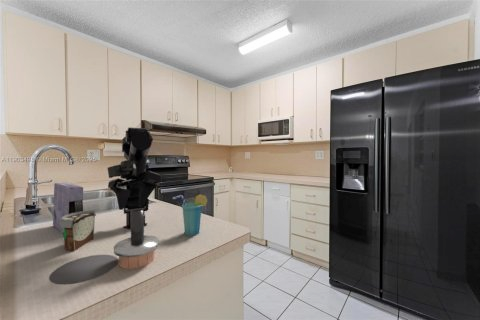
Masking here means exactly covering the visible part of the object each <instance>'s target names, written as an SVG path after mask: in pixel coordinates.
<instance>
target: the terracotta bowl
mask: <svg viewBox="0 0 480 320" xmlns="http://www.w3.org/2000/svg"><path fill="white" fill-rule="evenodd" d="M155 251H156V249H155V250H154V251H152V252H150V253H147V254H144V255H140V256H135V257H120V256H118V265H119V267H121V268H122V269H126V270H132V269H139V268H143V267H145V266H146V267H147V266H148V265H150V264H151V263H153V262H154V260H155V257H156V256H155V254H156V252H155Z"/></svg>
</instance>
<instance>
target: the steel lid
mask: <svg viewBox="0 0 480 320" xmlns="http://www.w3.org/2000/svg"><path fill="white" fill-rule="evenodd" d="M144 215H145V211H144V210H142V209H137V210H132V211H131V229H130V237H127V238H124V239H121V240H120V241H118V242H116V243H115V244H114V246H113V253H114V256H118V257H119V256H120V257H135V256H140V255H144V254H147V253H150V252H152V251H154V250H155V251H156V250H157V249H158V248H159V247H160V239H159V237H157V236H154V235H147V234H146V235H145V226H144Z"/></svg>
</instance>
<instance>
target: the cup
mask: <svg viewBox="0 0 480 320" xmlns="http://www.w3.org/2000/svg"><path fill="white" fill-rule="evenodd" d="M179 198H181V201H182V202H183V203H182V204H181V208H182V214H183V227H184V229H183V230H184V234H185V235H186V236H197V235H198V234H200V229H201V218H202V209H203V208H204V207H206V205H207V203H208V198H207V196H206V195H205V194H204V195H203V194H198V195H196V196H195V198H194V201H193V202H186V200H185V197H184V195H181V194H178V195H177V196H173V197H172V199H171V200H173V201H174V200H176V199H179Z"/></svg>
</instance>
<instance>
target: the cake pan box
mask: <svg viewBox="0 0 480 320" xmlns="http://www.w3.org/2000/svg"><path fill="white" fill-rule="evenodd" d="M53 184H54V186H53V209H52V210H53V211H52V220H53V221H52V226H53V227H55V228H56V229H57V230H58V231H59V232H61V233H63V229H62V227H60V226H59V224H60V220H61V219H62V217H63V216H65V215H68V214H71V213H76V212H81V211H84V187H83V186H80V185H76V184H74V183H72V182H68V181H67V182H64V181H63V182H54V183H53Z"/></svg>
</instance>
